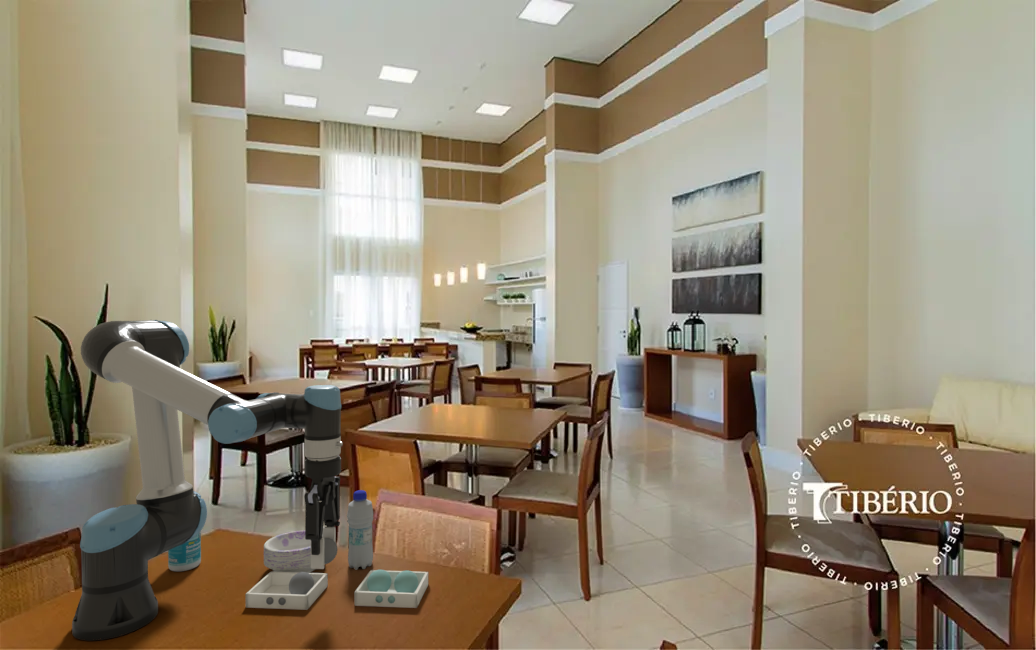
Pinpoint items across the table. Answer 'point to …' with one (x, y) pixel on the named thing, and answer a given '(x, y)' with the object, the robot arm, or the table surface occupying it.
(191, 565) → the pill bottle
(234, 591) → the table surface
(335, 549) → the charcoal ball
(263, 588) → the dish left
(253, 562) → the table surface
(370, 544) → the bottle
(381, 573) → the teal ball
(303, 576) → the charcoal ball
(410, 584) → the teal ball
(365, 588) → the dish right
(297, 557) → the paper bowls
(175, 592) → the table surface
